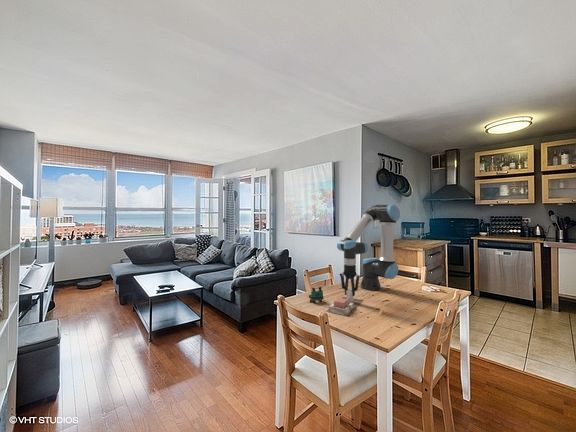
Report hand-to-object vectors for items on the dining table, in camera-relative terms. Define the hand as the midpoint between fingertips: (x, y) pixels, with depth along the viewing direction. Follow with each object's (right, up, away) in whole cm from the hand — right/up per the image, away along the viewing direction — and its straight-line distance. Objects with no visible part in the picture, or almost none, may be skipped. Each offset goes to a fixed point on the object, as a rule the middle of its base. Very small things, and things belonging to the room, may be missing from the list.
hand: (349, 300), depth 168 cm
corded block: (-5, -1, -8) cm, 9 cm away
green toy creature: (-22, -2, +2) cm, 22 cm away
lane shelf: (-4, -2, -6) cm, 8 cm away
